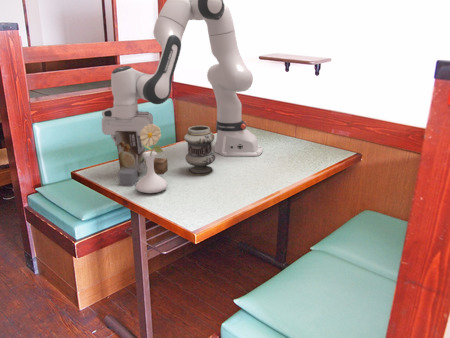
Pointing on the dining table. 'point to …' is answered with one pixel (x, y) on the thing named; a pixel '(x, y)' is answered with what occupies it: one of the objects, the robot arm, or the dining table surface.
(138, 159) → the coffee box
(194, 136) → the apothecary jar
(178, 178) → the dining table surface
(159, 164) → the walnut block
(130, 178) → the slate grey block
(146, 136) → the flower in vase
